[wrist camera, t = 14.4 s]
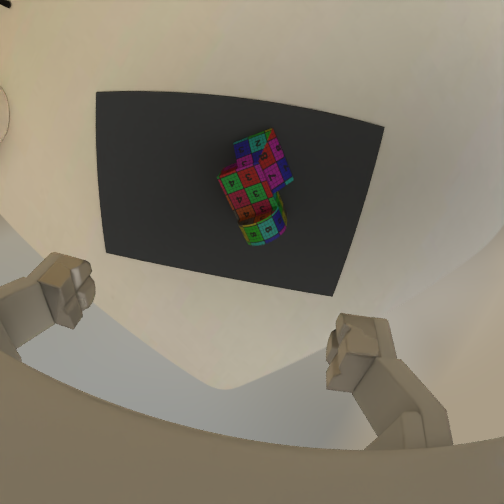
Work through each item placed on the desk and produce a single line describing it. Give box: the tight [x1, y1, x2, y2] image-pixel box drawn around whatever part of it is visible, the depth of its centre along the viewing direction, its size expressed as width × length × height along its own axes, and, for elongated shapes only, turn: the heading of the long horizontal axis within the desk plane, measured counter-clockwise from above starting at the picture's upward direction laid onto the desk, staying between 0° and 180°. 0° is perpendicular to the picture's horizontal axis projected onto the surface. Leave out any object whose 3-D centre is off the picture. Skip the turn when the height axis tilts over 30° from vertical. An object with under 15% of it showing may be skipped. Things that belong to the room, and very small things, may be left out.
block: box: [217, 128, 294, 246], centre depth 19 cm, size 6×4×3 cm
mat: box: [96, 91, 385, 297], centre depth 22 cm, size 20×14×1 cm
